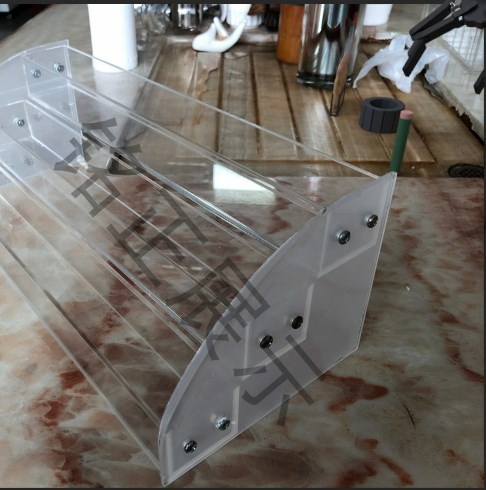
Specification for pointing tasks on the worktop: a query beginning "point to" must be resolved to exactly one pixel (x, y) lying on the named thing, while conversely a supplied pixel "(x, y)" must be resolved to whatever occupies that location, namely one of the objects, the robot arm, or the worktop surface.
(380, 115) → the grooved round container
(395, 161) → the pencil
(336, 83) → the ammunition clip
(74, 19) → the worktop surface
